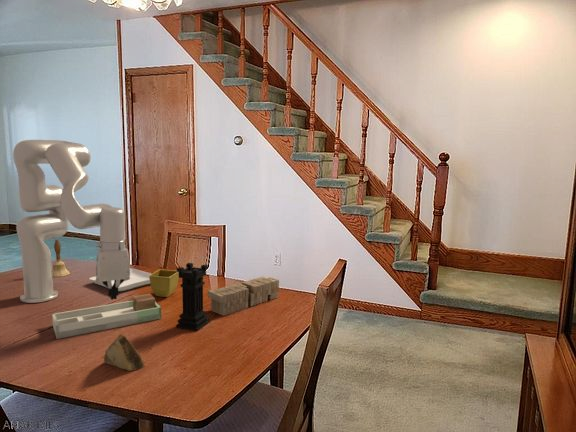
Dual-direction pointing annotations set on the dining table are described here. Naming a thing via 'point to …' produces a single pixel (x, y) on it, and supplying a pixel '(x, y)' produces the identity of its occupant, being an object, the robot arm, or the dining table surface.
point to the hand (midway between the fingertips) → (113, 298)
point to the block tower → (243, 295)
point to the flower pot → (164, 282)
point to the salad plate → (130, 280)
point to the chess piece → (192, 297)
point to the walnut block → (143, 302)
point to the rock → (123, 355)
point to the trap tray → (101, 318)
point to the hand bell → (59, 263)
